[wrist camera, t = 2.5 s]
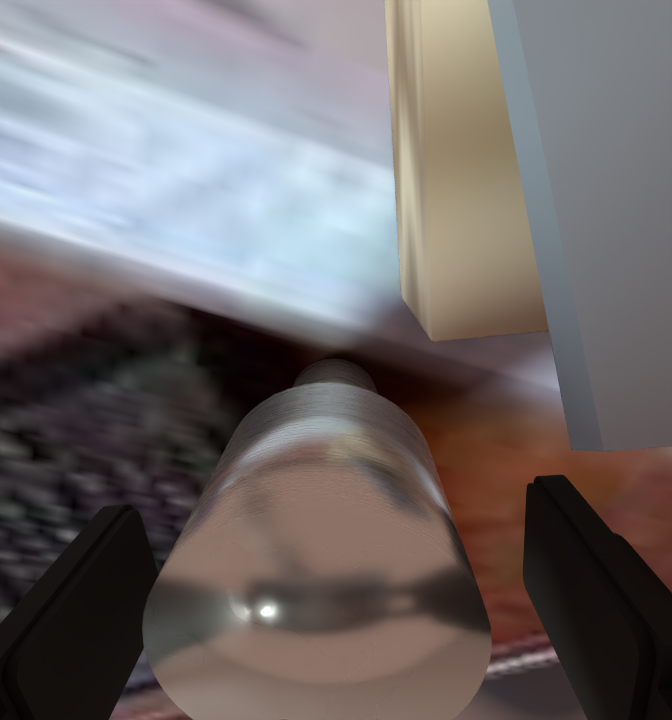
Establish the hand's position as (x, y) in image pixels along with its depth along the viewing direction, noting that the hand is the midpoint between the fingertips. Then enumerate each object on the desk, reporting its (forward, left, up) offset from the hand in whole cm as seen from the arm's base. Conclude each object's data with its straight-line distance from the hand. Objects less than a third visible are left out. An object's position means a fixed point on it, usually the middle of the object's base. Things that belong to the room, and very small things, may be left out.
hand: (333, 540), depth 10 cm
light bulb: (0, 0, -8) cm, 8 cm away
